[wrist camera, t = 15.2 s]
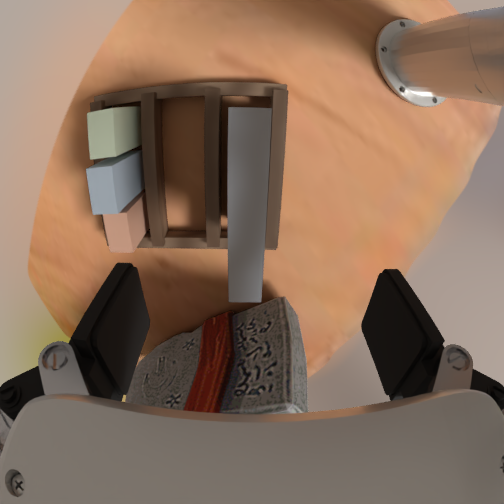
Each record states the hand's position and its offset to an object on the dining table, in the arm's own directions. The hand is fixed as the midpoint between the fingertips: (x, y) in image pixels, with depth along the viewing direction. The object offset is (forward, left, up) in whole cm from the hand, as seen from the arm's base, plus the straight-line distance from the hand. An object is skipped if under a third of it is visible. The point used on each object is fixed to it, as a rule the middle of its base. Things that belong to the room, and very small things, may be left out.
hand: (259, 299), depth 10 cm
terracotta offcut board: (+14, +6, -25) cm, 29 cm away
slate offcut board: (+14, 0, -25) cm, 28 cm away
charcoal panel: (0, 0, -25) cm, 25 cm away
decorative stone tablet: (+6, +27, -25) cm, 37 cm away
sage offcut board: (+14, -5, -25) cm, 29 cm away
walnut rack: (+7, 0, -25) cm, 26 cm away
